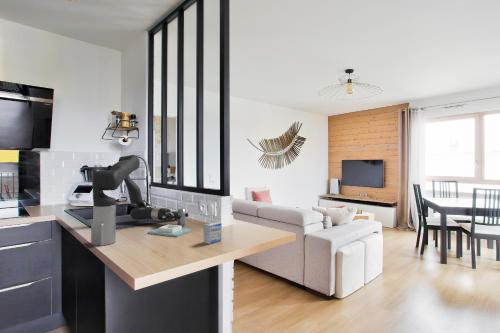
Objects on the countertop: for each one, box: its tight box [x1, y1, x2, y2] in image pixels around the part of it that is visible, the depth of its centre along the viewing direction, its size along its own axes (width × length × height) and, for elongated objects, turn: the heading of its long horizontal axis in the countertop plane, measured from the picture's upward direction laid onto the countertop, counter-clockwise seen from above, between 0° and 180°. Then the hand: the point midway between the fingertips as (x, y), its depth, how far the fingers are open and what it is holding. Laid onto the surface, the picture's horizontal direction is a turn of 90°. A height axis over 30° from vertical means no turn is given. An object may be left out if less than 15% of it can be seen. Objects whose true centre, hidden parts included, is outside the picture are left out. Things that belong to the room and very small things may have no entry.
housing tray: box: [147, 224, 193, 238], centre depth 149 cm, size 14×18×3 cm
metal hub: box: [176, 208, 186, 228], centre depth 165 cm, size 4×4×10 cm
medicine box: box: [202, 221, 222, 245], centre depth 132 cm, size 8×4×9 cm, turn 143°
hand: (184, 216), depth 164 cm, fingers open, 8 cm apart
